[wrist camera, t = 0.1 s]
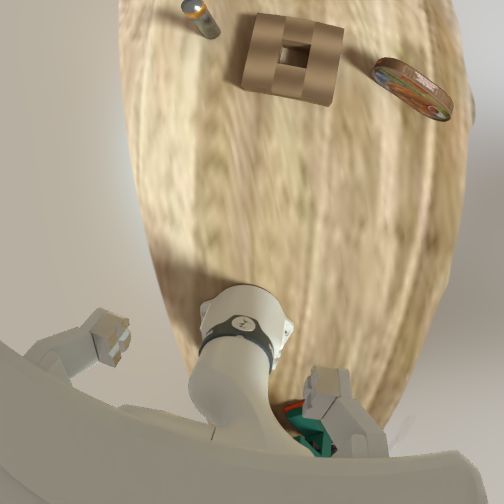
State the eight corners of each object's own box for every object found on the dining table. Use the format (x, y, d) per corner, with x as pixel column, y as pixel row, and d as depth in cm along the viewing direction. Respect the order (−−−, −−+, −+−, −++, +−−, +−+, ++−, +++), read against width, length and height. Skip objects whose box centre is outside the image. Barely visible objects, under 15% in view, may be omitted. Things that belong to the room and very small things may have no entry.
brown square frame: (328, 107, 41) (331, 102, 37) (244, 90, 42) (240, 85, 38) (340, 37, 36) (344, 28, 32) (259, 22, 37) (257, 12, 33)
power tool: (254, 375, 61) (240, 446, 42) (281, 365, 59) (275, 439, 40) (312, 439, 68) (312, 496, 49) (334, 432, 66) (338, 490, 47)
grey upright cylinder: (219, 40, 39) (199, 12, 28) (201, 39, 39) (178, 12, 28) (222, 25, 38) (204, -5, 27) (205, 25, 38) (183, -4, 27)
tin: (365, 76, 38) (379, 63, 30) (371, 63, 37) (386, 48, 29) (434, 124, 39) (458, 121, 31) (440, 111, 38) (464, 106, 30)
